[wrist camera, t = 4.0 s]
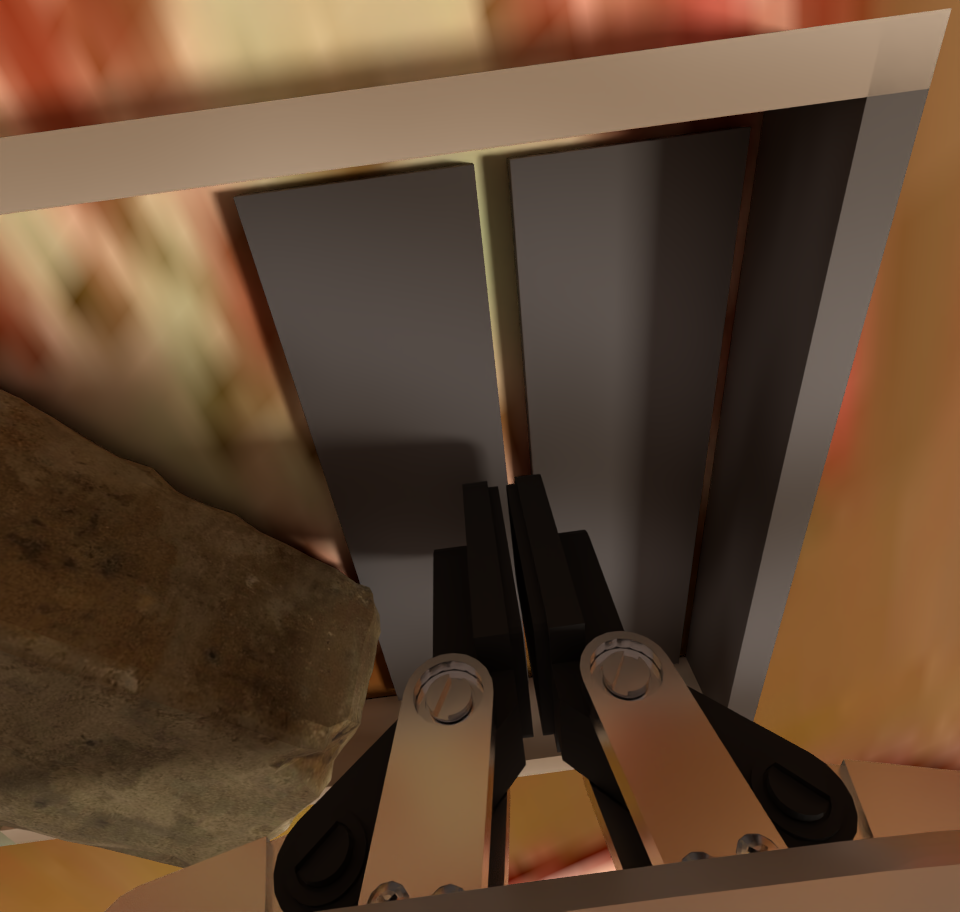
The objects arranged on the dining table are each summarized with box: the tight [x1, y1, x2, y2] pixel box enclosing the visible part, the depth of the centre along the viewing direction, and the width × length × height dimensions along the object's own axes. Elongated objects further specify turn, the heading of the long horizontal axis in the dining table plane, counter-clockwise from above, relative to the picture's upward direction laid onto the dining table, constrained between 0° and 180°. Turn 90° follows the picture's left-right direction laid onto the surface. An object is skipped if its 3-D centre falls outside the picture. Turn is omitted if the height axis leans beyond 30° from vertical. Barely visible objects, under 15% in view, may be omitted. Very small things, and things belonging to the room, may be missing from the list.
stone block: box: [0, 389, 381, 868], centre depth 11 cm, size 6×12×5 cm, turn 51°
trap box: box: [0, 8, 951, 846], centre depth 12 cm, size 16×31×3 cm, turn 96°
